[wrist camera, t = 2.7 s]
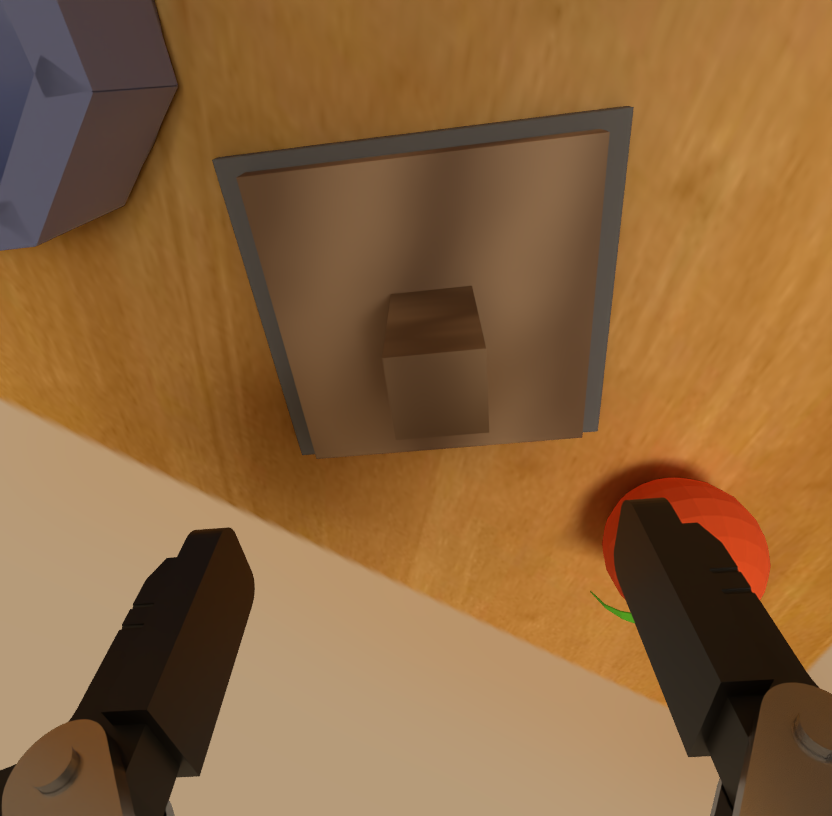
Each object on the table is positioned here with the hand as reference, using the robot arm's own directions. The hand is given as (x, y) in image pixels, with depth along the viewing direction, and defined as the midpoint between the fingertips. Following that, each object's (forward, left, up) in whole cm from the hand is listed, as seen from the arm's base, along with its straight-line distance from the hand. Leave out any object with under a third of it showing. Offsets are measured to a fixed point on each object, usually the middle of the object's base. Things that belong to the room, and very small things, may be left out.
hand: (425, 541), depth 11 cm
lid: (0, 0, -12) cm, 12 cm away
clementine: (-10, +12, -13) cm, 20 cm away
